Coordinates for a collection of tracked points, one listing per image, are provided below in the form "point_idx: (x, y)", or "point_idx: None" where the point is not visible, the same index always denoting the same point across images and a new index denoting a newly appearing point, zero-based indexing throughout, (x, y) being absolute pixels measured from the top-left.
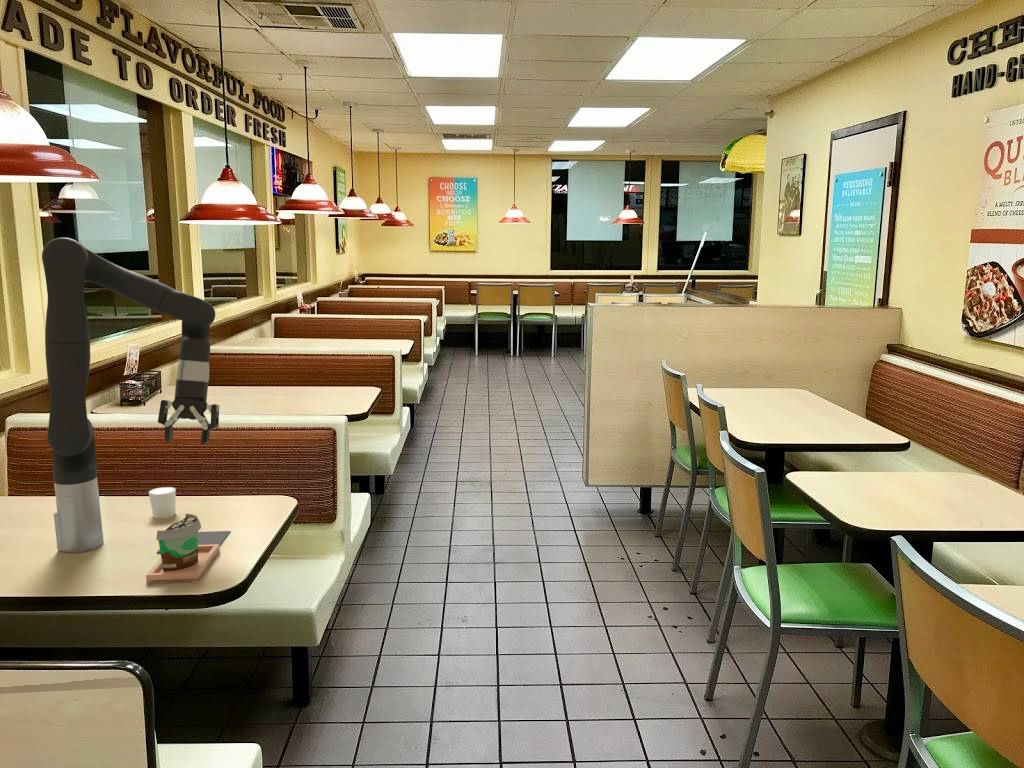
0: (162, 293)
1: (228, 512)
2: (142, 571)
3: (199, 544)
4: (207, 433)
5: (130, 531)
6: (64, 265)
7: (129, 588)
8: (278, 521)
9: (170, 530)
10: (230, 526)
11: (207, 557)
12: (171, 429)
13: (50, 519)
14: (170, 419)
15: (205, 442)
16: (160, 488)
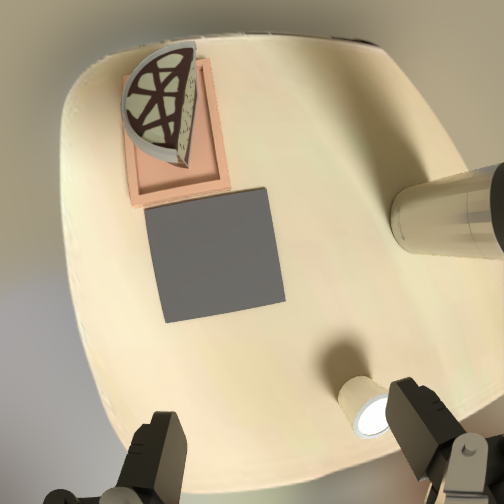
0: None
1: (231, 424)
2: (245, 107)
3: (194, 238)
4: (124, 472)
5: (378, 301)
6: None
7: (229, 52)
8: (102, 382)
9: (164, 48)
10: (183, 354)
11: (128, 136)
12: (422, 449)
13: (491, 324)
14: (471, 487)
15: (147, 424)
16: (386, 426)
